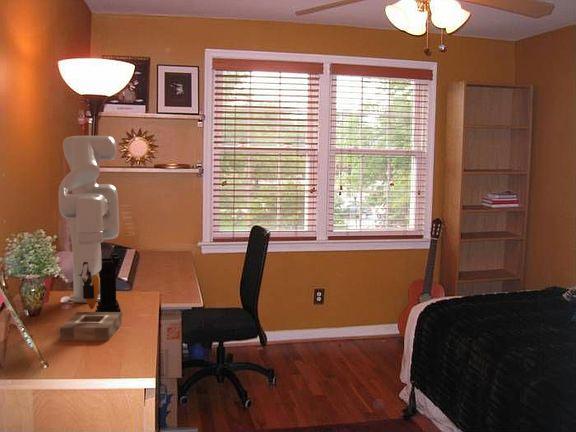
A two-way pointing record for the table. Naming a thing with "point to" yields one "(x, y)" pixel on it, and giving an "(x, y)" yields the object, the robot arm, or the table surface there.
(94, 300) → the carrot
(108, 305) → the chess piece
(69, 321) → the seat block
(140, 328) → the table surface
